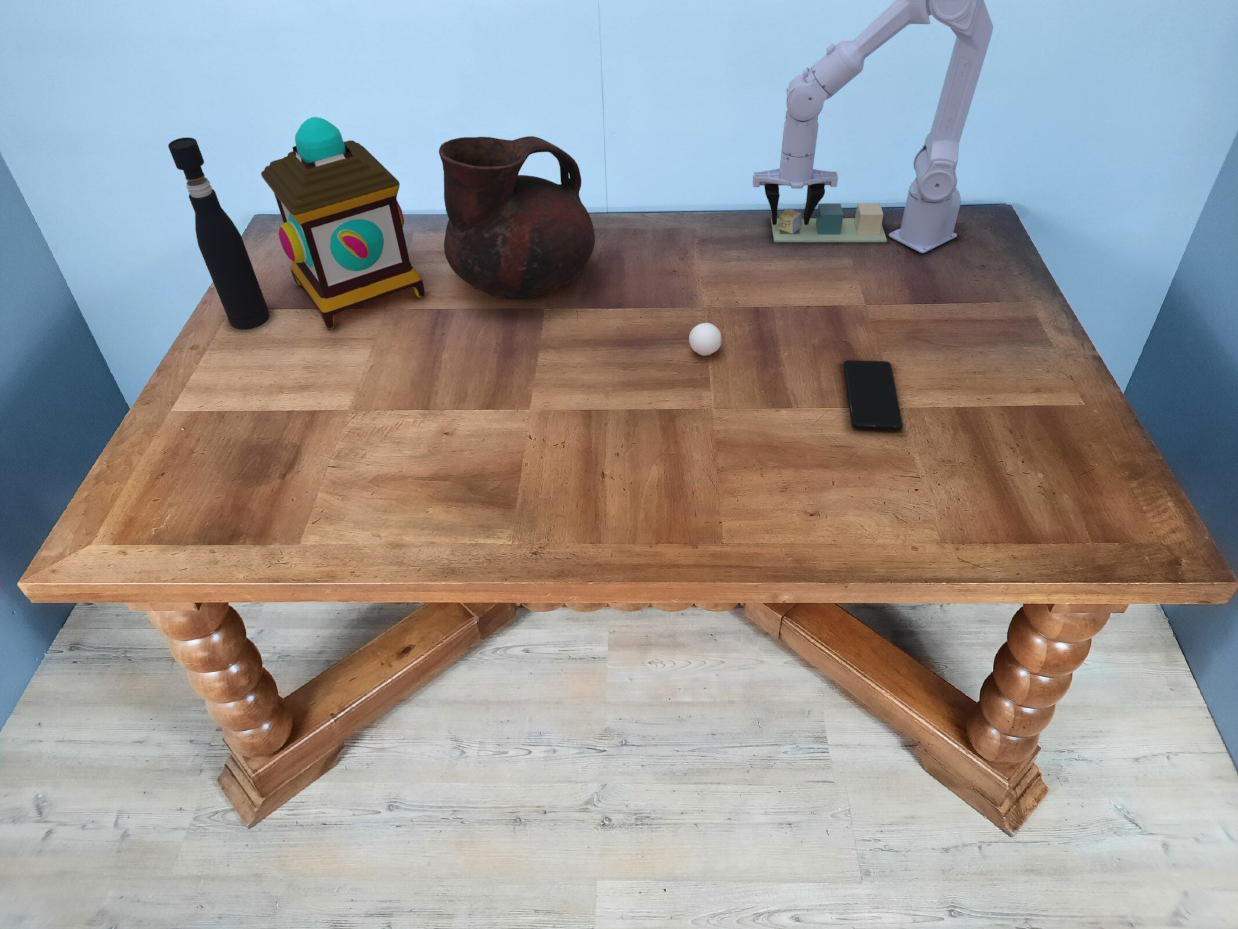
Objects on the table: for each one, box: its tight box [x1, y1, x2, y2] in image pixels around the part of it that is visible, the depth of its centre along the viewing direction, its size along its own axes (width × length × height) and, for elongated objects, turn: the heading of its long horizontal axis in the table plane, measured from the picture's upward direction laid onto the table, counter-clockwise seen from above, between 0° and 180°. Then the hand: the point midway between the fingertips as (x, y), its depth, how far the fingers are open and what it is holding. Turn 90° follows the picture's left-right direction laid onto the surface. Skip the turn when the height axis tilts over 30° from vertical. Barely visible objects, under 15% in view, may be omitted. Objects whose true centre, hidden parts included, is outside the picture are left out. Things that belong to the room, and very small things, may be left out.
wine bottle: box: [168, 136, 270, 330], centre depth 136 cm, size 6×6×30 cm
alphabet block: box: [778, 208, 804, 234], centre depth 160 cm, size 3×3×3 cm
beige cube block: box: [854, 203, 884, 234], centre depth 159 cm, size 4×4×4 cm
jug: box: [438, 135, 596, 300], centre depth 143 cm, size 25×25×25 cm
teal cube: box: [815, 203, 845, 235], centre depth 159 cm, size 4×4×4 cm
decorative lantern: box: [260, 116, 425, 330], centre depth 140 cm, size 20×20×30 cm
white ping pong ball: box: [688, 322, 722, 357], centre depth 134 cm, size 5×5×5 cm
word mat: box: [770, 217, 888, 243], centre depth 160 cm, size 20×8×1 cm, turn 87°
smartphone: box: [843, 359, 904, 432], centre depth 126 cm, size 7×1×15 cm
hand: (789, 222), depth 160 cm, fingers open, 5 cm apart
